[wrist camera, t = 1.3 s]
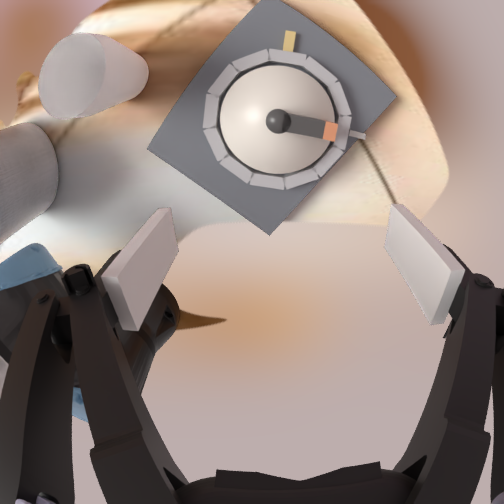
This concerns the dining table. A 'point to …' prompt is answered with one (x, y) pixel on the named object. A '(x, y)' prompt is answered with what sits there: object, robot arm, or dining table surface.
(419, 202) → the dining table surface
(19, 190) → the planter
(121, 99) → the cup
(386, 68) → the dining table surface
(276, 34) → the panel
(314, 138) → the dial
